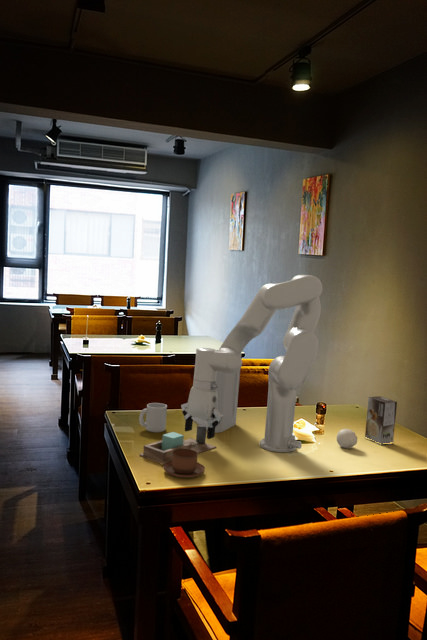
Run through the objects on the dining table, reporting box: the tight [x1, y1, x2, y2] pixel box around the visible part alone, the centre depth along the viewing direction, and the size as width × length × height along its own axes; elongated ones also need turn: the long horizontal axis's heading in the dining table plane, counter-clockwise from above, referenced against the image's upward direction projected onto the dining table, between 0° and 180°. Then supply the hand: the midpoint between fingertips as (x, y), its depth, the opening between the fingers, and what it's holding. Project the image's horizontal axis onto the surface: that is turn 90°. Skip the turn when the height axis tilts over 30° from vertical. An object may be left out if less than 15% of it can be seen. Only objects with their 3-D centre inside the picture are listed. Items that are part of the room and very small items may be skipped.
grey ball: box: [336, 428, 358, 449], centre depth 192 cm, size 7×7×7 cm
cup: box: [138, 402, 168, 433], centre depth 196 cm, size 7×10×9 cm
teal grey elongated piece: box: [161, 424, 207, 451], centre depth 178 cm, size 19×4×6 cm, turn 142°
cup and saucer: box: [162, 449, 205, 479], centre depth 157 cm, size 12×12×6 cm
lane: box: [138, 438, 217, 465], centre depth 175 cm, size 25×11×3 cm, turn 142°
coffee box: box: [364, 396, 398, 444], centre depth 203 cm, size 9×6×16 cm
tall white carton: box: [191, 348, 242, 433], centre depth 209 cm, size 19×15×28 cm
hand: (199, 434), depth 184 cm, fingers open, 9 cm apart
